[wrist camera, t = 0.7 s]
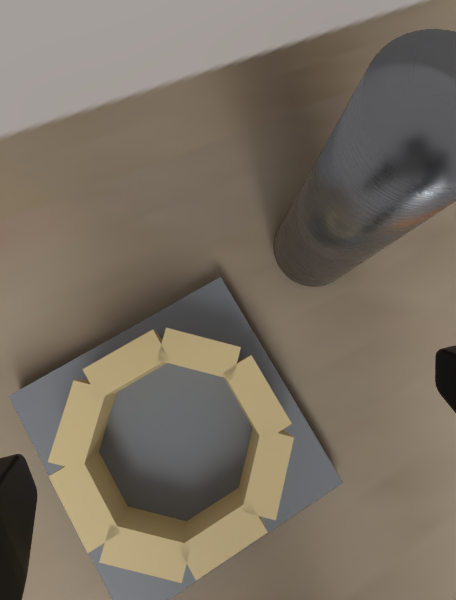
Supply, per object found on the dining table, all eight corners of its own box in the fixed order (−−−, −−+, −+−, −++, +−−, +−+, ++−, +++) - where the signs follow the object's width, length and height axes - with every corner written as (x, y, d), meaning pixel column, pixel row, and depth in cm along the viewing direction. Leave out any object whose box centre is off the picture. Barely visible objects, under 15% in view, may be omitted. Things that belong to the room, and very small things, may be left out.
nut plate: (336, 477, 21) (362, 498, 18) (130, 614, 20) (115, 666, 16) (219, 280, 23) (222, 265, 19) (17, 394, 21) (-19, 399, 18)
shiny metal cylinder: (365, 262, 23) (560, 136, 11) (300, 300, 23) (425, 215, 10) (324, 198, 24) (464, 4, 11) (259, 234, 23) (328, 72, 11)
